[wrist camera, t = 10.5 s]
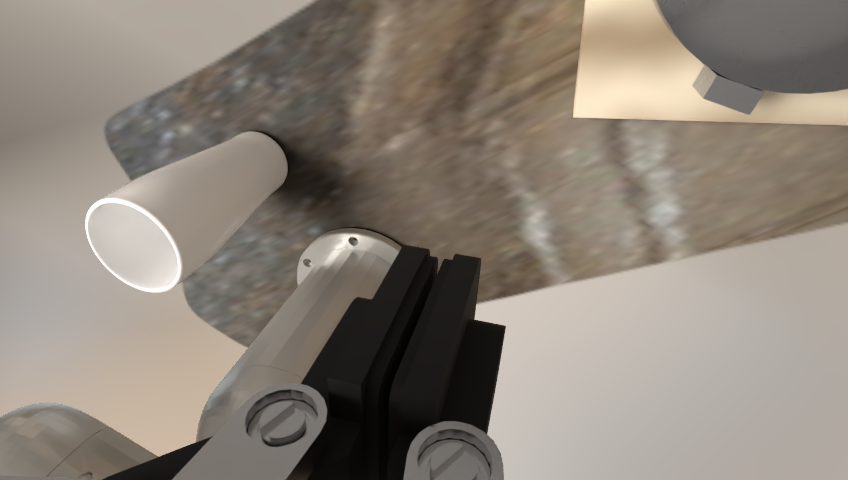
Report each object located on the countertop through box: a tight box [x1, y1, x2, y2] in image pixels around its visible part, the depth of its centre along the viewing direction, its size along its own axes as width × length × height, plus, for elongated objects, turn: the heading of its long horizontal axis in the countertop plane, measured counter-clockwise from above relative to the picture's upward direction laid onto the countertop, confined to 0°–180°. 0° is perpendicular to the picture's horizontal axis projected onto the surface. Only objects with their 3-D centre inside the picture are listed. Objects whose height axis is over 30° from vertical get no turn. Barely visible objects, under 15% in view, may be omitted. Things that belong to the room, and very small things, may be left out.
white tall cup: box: [85, 131, 288, 293], centre depth 37 cm, size 7×7×15 cm
